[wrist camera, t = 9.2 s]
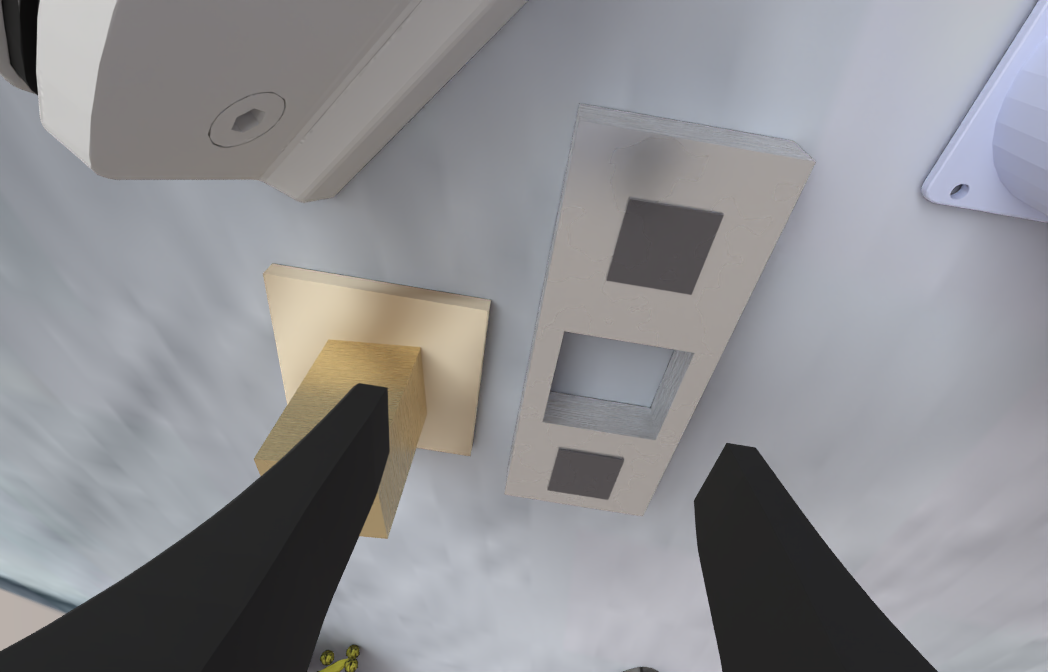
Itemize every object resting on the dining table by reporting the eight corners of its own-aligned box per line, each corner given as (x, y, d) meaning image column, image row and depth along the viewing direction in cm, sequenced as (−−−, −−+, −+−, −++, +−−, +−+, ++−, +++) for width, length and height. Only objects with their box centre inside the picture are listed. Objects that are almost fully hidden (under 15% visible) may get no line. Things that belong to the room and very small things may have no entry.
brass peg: (427, 413, 25) (387, 538, 19) (344, 406, 25) (282, 528, 20) (420, 347, 22) (373, 470, 17) (328, 339, 22) (253, 458, 17)
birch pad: (490, 300, 21) (488, 310, 21) (472, 444, 27) (470, 456, 26) (272, 263, 21) (262, 273, 21) (298, 416, 27) (291, 427, 26)
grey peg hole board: (793, 141, 17) (817, 163, 15) (638, 483, 28) (642, 518, 26) (579, 103, 17) (579, 121, 15) (508, 462, 28) (504, 496, 26)
